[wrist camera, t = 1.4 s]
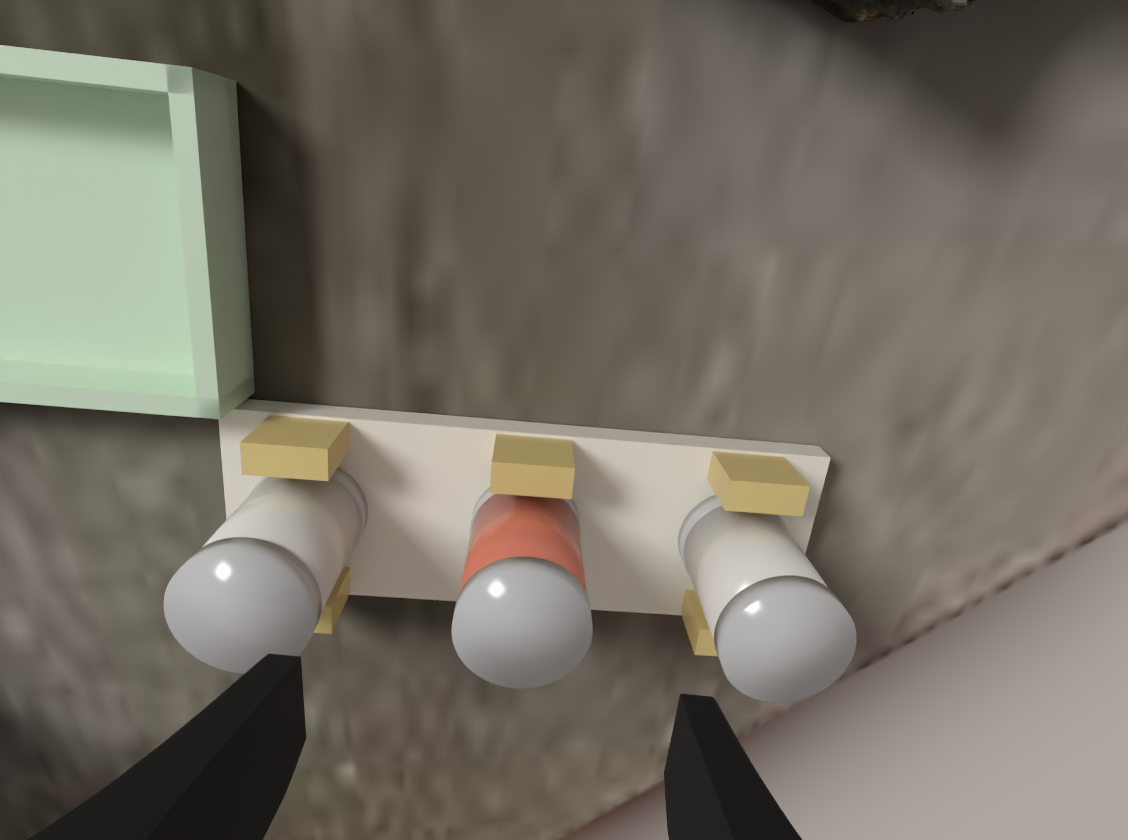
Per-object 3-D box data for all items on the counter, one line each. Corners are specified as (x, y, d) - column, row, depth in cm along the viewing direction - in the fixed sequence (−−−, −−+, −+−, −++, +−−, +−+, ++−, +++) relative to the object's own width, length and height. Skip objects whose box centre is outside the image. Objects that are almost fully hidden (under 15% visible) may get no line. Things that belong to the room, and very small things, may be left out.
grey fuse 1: (368, 559, 22) (315, 677, 17) (258, 552, 22) (171, 669, 17) (367, 462, 21) (311, 557, 16) (252, 453, 21) (155, 547, 16)
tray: (255, 392, 21) (220, 419, 19) (-77, 364, 21) (-156, 389, 18) (236, 80, 18) (191, 67, 16) (-156, 35, 17) (-263, 14, 15)
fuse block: (778, 604, 25) (811, 664, 22) (244, 570, 24) (201, 628, 21) (818, 445, 23) (861, 487, 20) (231, 397, 21) (181, 434, 18)
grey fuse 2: (770, 586, 23) (837, 706, 18) (670, 579, 23) (709, 699, 18) (793, 495, 22) (872, 595, 17) (687, 487, 22) (734, 586, 17)
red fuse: (573, 573, 23) (584, 691, 18) (468, 566, 23) (448, 684, 17) (585, 479, 22) (600, 576, 16) (474, 470, 21) (454, 567, 16)
